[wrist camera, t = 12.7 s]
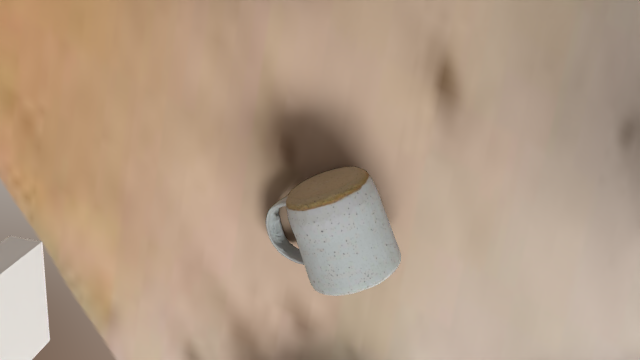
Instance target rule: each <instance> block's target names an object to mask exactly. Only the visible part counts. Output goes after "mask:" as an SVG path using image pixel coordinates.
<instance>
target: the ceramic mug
mask: <svg viewBox="0 0 640 360" xmlns="http://www.w3.org/2000/svg"><path fill="white" fill-rule="evenodd" d="M283 206H286V207H287V213H288V219H289V222H290V225H291V228H292V231H293V233H294V235H295V238H296V240H297V244H298V247H299V249H298V248H296V247H295V246H293V245H292V244H291V243H290V242H289V241H288V240H287V238H286V237H285V235H284V233H283V230H282V226H281V223H280V216H279V214H278V211H279V208H280V207H283ZM266 228H267V232H268V235H269V238H270V240H271V242H272V244H273V245H274V247H275V248H276V249H277V250H278V251H279V252H280V253H281V254H282V255H283V256H285V257H286V258H288V259H289V260H291V261H294V262H296V263H299V264H303V265H305V268H306V271H307V274H308V277H309V280H310V283H311V285H312V286H313V288H314V289H315V290H316V291H318V292H319V293H322V294H325V295H333V296H339V295H347V294H353V293H357V292H359V291H363V290H366V289H368V288H371V287H373V286H375V285H378V284H379V283H381V282H383V281H384V280H385V279H387V278H388V277H389V276H390V275H391V274H392V273H393V272H394V271H395V270H396V269H397V267H398V266H399V264H400V261H401V253H400V250H399V247H398V245H397V242H396V240H395V237H394V234H393V231H392V229H391V226H390V223H389V220H388V218H387V215H386V213H385V210H384V208H383V205H382V202H381V199H380V196H379V193H378V191H377V188H376V186H375V184H374V182H373V180H372V178H371V177H370V175H369V174H368V173H367V171H365V170H363V169H361V168H358V167H342V168H337V169H333V170H330V171H326V172H323V173H321V174H318V175H315V176H313V177H311V178H309V179H307V180H305V181H304V182H302V183H300V184H299V185H297V186H296V187H295V188H294V189H293V190H291V192H290V193H289V195H288V196H287V197H285V198H283V199H281V200H280V201H278V202H277V203H276V204H274V205H273V206H272V207H271V208H270V209H269V211H268V213H267V216H266Z"/></svg>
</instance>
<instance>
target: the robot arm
mask: <svg viewBox="0 0 640 360" xmlns="http://www.w3.org/2000/svg"><path fill="white" fill-rule="evenodd" d="M49 340H50V336H49V324H48V311H47V297H46V284H45V271H44V258H43V245H42V241H36V240H31V239H26V238H20V237H15V236H9V237H8V238H6V239H5V240H3V241H2V242H1V243H0V360H32V359H33V358H34V357H35V356H36V355H37V354H38V352H39V351H40V350H41V349H42V348H43V347H44V346H45V345H46V344H47V343H48V342H49Z"/></svg>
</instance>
